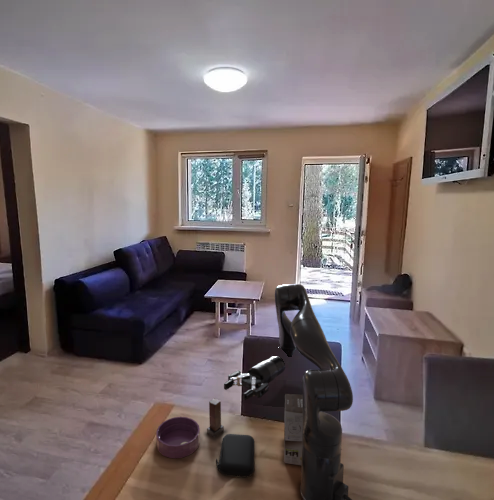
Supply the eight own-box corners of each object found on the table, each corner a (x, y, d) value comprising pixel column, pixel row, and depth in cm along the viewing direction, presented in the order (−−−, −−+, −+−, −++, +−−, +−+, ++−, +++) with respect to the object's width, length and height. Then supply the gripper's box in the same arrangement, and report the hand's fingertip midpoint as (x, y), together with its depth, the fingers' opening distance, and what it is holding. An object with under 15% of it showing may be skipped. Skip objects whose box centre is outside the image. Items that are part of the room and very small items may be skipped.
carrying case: (220, 439, 104) (213, 478, 90) (219, 430, 104) (213, 468, 89) (254, 441, 103) (253, 481, 89) (254, 432, 103) (253, 471, 88)
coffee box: (307, 466, 93) (308, 413, 91) (283, 463, 95) (284, 411, 92) (305, 443, 102) (307, 394, 100) (284, 440, 103) (285, 392, 101)
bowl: (208, 443, 103) (208, 429, 102) (175, 467, 94) (174, 453, 93) (181, 423, 112) (181, 411, 111) (148, 444, 102) (147, 431, 102)
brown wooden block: (216, 427, 110) (216, 396, 108) (223, 431, 108) (223, 400, 106) (207, 434, 107) (206, 402, 105) (214, 439, 104) (213, 406, 103)
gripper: (248, 357, 128) (218, 374, 116) (279, 370, 118) (250, 389, 106) (248, 376, 129) (218, 394, 117) (279, 390, 119) (250, 411, 108)
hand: (233, 392), depth 112 cm, fingers open, 8 cm apart
